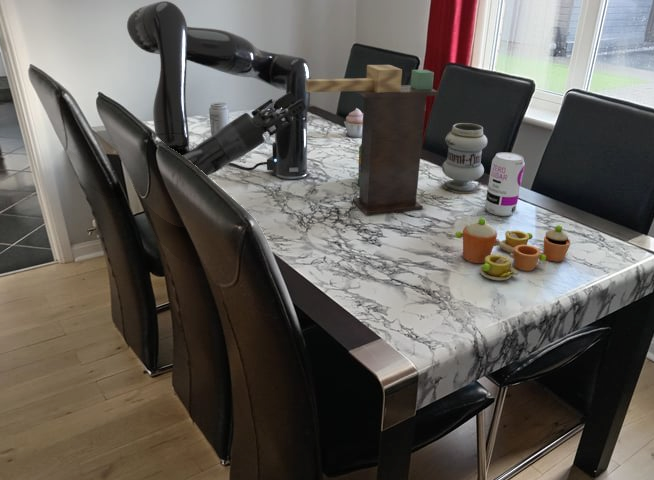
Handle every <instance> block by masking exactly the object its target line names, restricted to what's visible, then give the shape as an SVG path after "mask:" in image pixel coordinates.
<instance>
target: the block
mask: <svg viewBox="0 0 654 480" xmlns="http://www.w3.org/2000/svg"><path fill="white" fill-rule="evenodd" d="M434 75H435V72H433V71H431V70H429V69H412V70H411V77H410V85H411V87H412V88H414V89H417V90H432V89H433V86H434V85H433V84H434Z"/></svg>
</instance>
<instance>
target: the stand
mask: <svg viewBox="0 0 654 480" xmlns="http://www.w3.org/2000/svg"><path fill="white" fill-rule="evenodd" d="M353 92H354V93H356V94H358V95H360V96H362V97H363V108H362V113H363V126H362V137H361V144H362V147H361V168H360V186H359V191H358V192H359V193H358V197H353V198H352V203H353V204H355V206H356V207H357V208H358V209H359V210H360V211H362V213H363V214H365V215H366V216H374V215H382V214H393V213H400V212H401V213H402V212H410V211H419V210H420V211H421V210H423V205H422V204H421V203H420V202H418V201H417V195H418V194H417V193H418V185H419V184H418V183H419V174H420V166H421V165H420V164H421V155H422V145H423V133H424V123H425V114H426V105H427V97H429V96H430V97H435V96H438V94H439V91H438V90H435V89H434V88H432V90H417V89H414V88H412V87H411V84H406V85H405V84H404V85H401V92H379V93H377V92H375V91H353Z"/></svg>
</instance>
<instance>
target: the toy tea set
mask: <svg viewBox="0 0 654 480" xmlns="http://www.w3.org/2000/svg"><path fill="white" fill-rule="evenodd" d="M504 235H505V236H504V237H505V239H503V240H501V241H500V238H497V237H498V232H497V230H496V229H494V227H493V226H492V225H491V224H489V223H487V222H486V219H485V218H484V217H481V218H479V219H478V221H475V222H472V223H469V224H468V225H465V226H464V228H463V229H462V231H457V232H455V237H456V238H457V239H461V238H462V257H463V259H464V260H466V261H467V262H470V263H472V264H483V265H481V266H480V268H479V273H480V274H481V275H482V276H483V277H484V278H486V279H489V280H493V281H506V280H508V279H510V278H511V277H512V276H518V274H519V271H518V270H520V271H524V272H530V271H533V270H534V269H535V268H536V266H537V264H538V262H539V261H541V262H545V261H546V260H547V261H551V262H556V263H557V262H558V263H559V262H562V261H564V260H565V258H566V256H567V253H568V250H569V249H570V246H571V244H572V242H571V240H570V239H569V235H568V234H567V233H566V232H565V231H563V227H562V225H560V224H558V225H556V226H555V228H553V229H550V230H547V231H545V236H544V237H543V252H542V251H541V250H540V249H539V248H538V247H536V246H534V245H530V244H528V242H529V241H530V240H531V239H533V237H534V236H533V233H531V232H524V231H521V230H506V231H505V234H504ZM497 246H499V247H500V248H501V249H502V250H503V251H504V252H507V253H509V255H508V256H509V257H510V258H512V259H513V262H512V261H511V259H510V258H509V257H507V256H504V255H500V254H492V251H493V248H494V247H497ZM541 252H542V253H541ZM513 265H514V267H515V268H513V267H512V266H513ZM517 269H518V270H517Z"/></svg>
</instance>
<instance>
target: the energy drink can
mask: <svg viewBox="0 0 654 480" xmlns="http://www.w3.org/2000/svg"><path fill="white" fill-rule="evenodd" d="M208 113H209V114H208V115H209V125H210V126H209V127H210V137H211V136H213V135H214V134H215V133H216V132H217V131H218V130H220V129H221V128H222V127H224V126H226V125H227V124H229V123H230V122H231V121H230V110H229V107H228V106H227V103H225V102H212V103H210V107H209V108H208Z"/></svg>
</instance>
